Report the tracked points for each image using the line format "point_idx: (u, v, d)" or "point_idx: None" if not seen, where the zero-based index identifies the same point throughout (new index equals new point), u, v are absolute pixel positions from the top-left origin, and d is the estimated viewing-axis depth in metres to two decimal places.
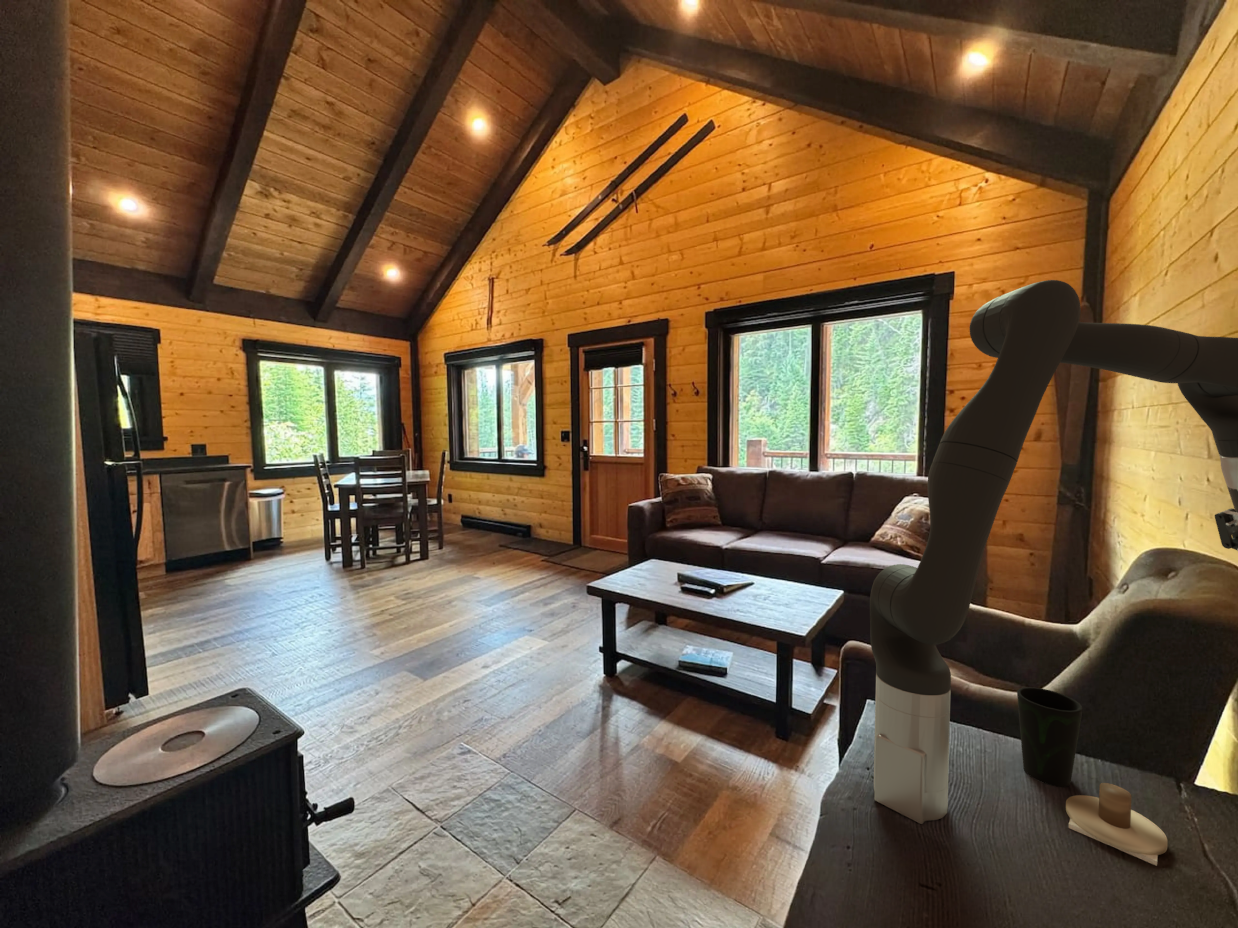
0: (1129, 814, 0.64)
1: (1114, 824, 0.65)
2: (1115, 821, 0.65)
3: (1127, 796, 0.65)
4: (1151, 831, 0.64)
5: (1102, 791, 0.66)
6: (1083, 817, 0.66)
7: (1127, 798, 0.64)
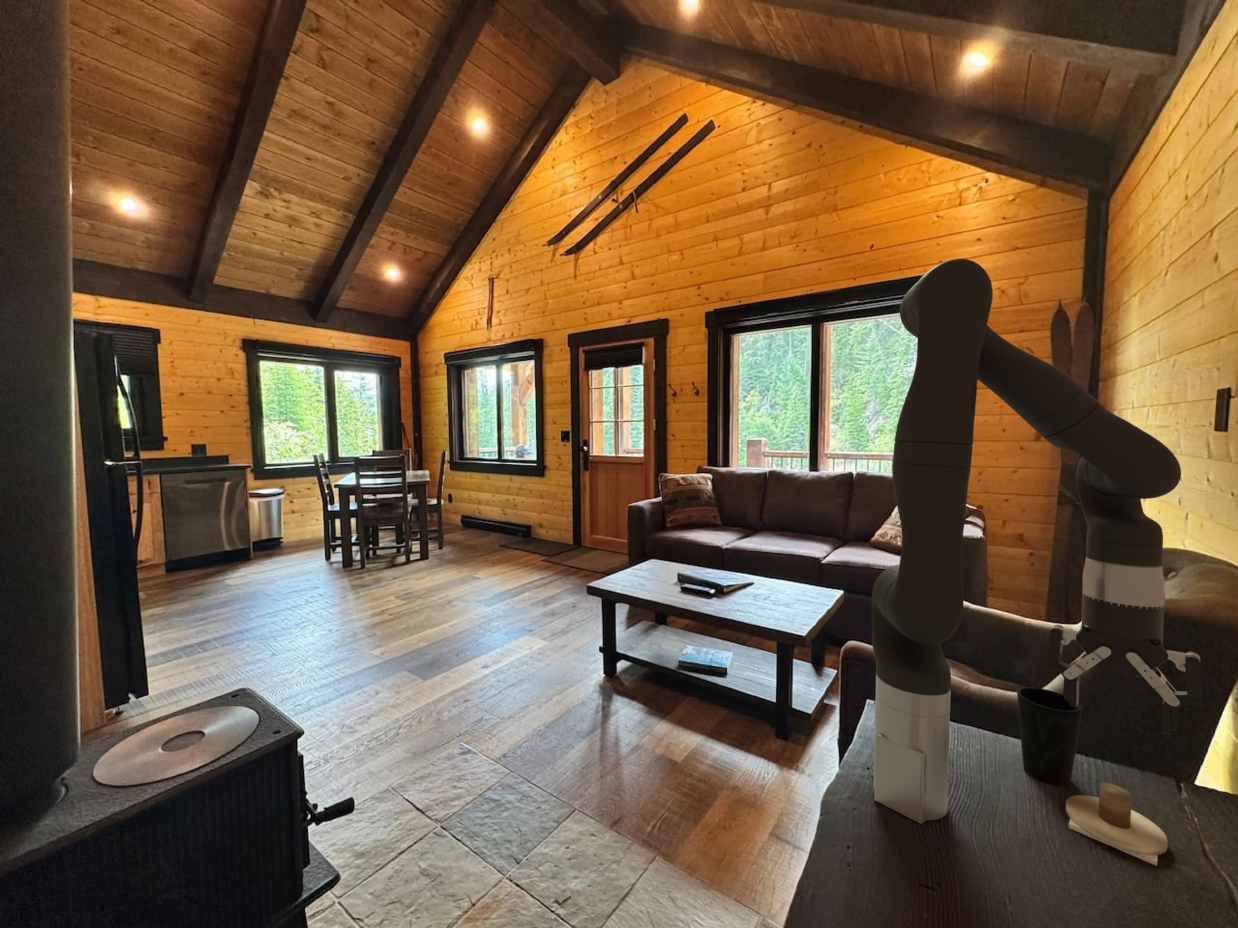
0: (1129, 814, 0.64)
1: (1114, 824, 0.65)
2: (1115, 821, 0.65)
3: (1127, 796, 0.65)
4: (1151, 831, 0.64)
5: (1102, 791, 0.66)
6: (1083, 817, 0.66)
7: (1127, 798, 0.64)
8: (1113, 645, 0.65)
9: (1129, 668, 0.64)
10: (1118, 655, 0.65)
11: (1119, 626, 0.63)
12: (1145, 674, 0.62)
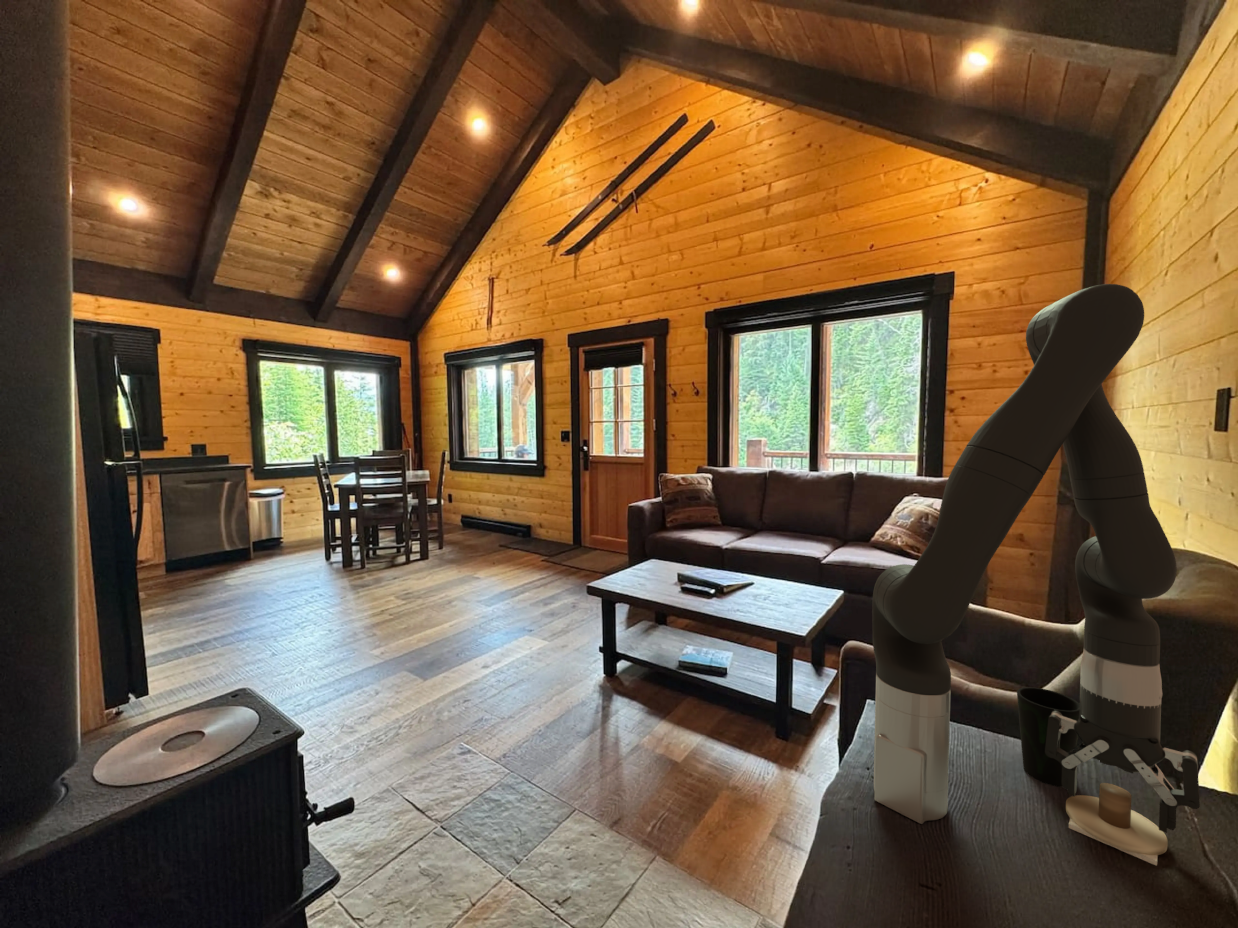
0: (1129, 814, 0.64)
1: (1114, 824, 0.65)
2: (1115, 821, 0.65)
3: (1127, 796, 0.65)
4: (1151, 831, 0.64)
5: (1102, 791, 0.66)
6: (1083, 817, 0.66)
7: (1127, 798, 0.64)
8: (1111, 739, 0.65)
9: (1127, 763, 0.64)
10: (1116, 749, 0.65)
11: (1117, 723, 0.63)
12: (1142, 771, 0.63)
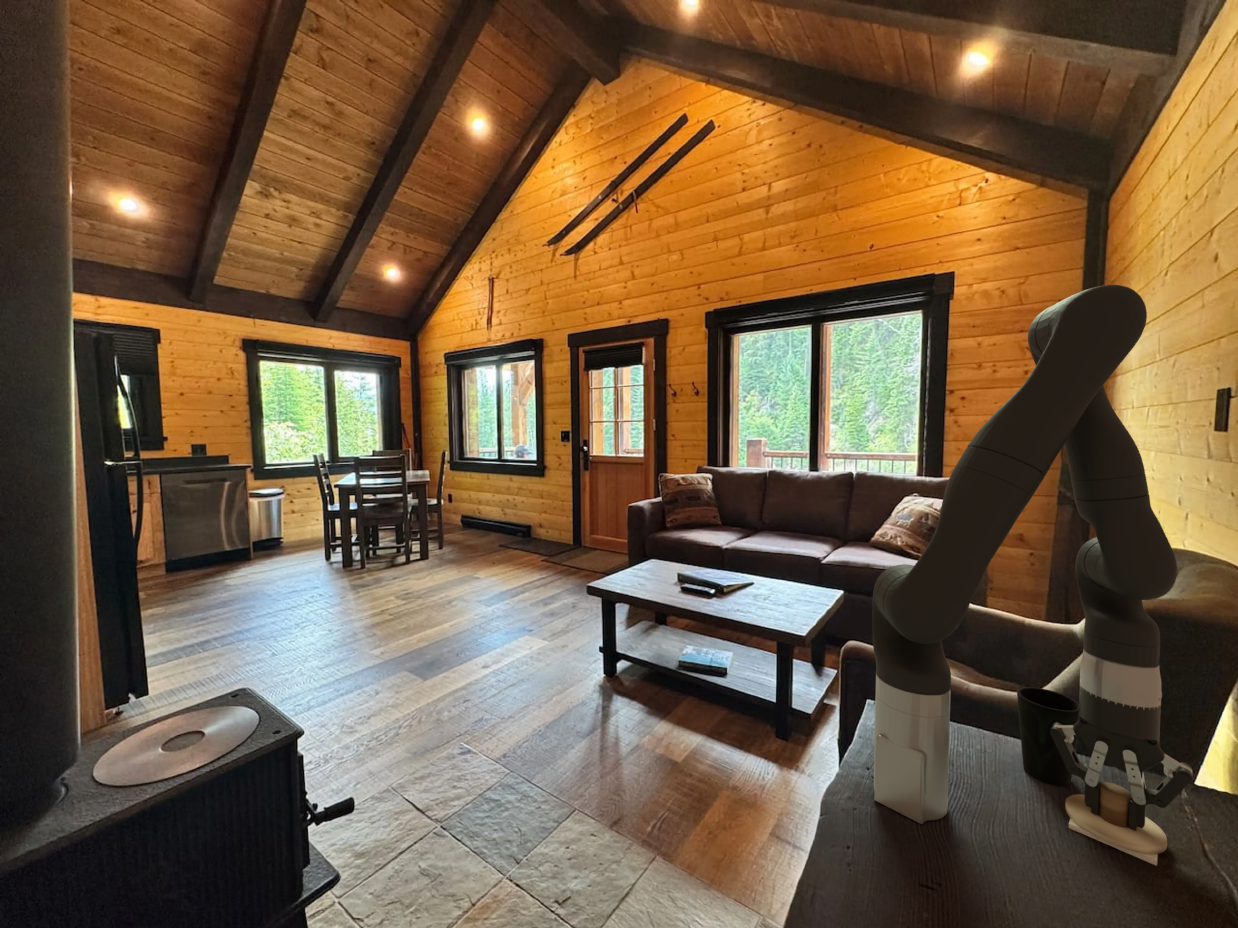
0: None
1: (1114, 823, 0.65)
2: (1115, 820, 0.65)
3: (1126, 795, 0.65)
4: (1151, 830, 0.64)
5: (1102, 790, 0.66)
6: (1082, 816, 0.66)
7: (1127, 797, 0.64)
8: (1105, 736, 0.65)
9: None
10: (1115, 750, 0.65)
11: (1116, 724, 0.63)
12: (1130, 771, 0.63)
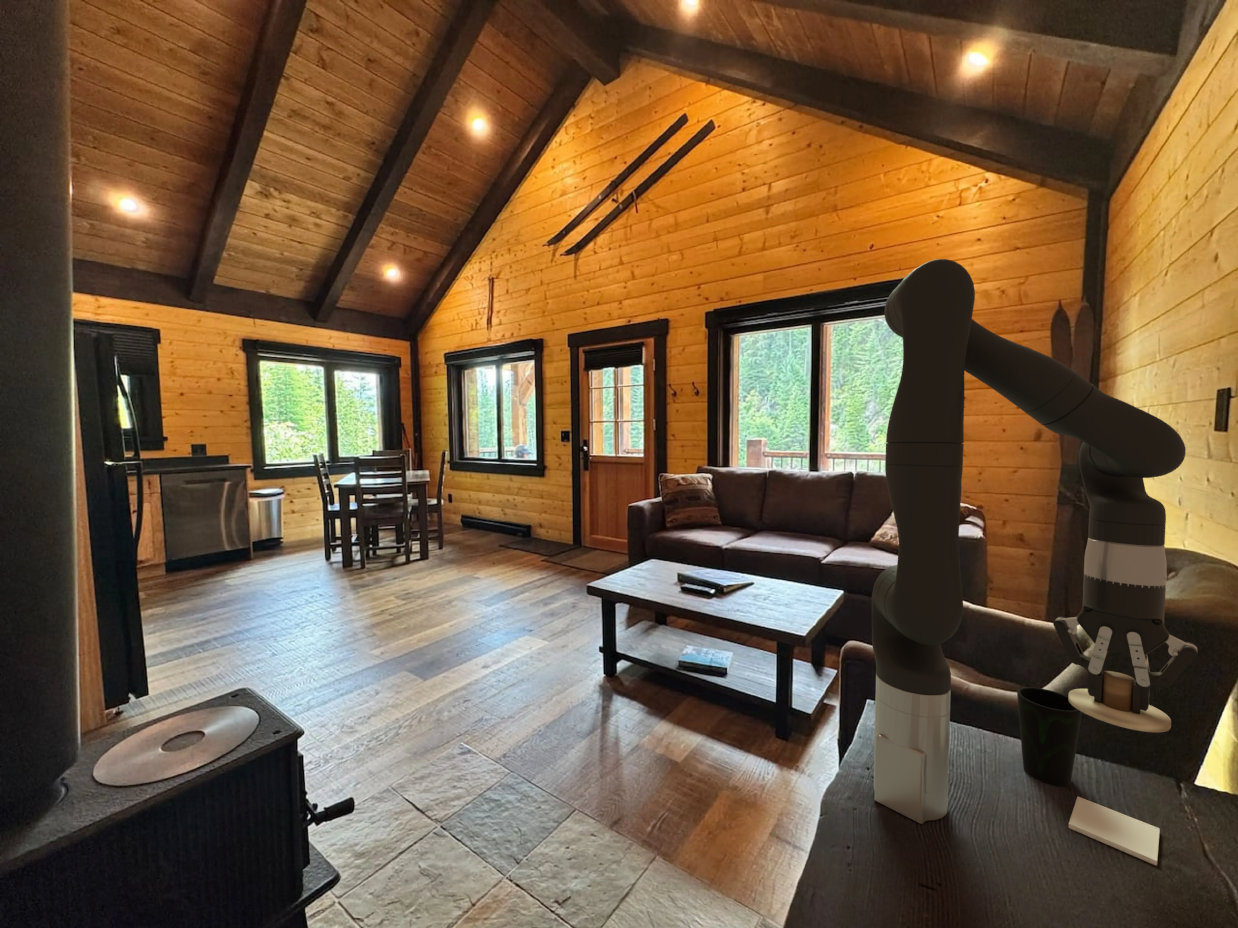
0: (1132, 697, 0.64)
1: (1117, 708, 0.64)
2: (1118, 705, 0.64)
3: (1130, 680, 0.64)
4: (1154, 714, 0.64)
5: (1105, 677, 0.66)
6: (1086, 703, 0.66)
7: (1130, 681, 0.64)
8: (1110, 622, 0.65)
9: (1130, 648, 0.64)
10: (1119, 635, 0.64)
11: (1121, 605, 0.62)
12: (1134, 653, 0.63)
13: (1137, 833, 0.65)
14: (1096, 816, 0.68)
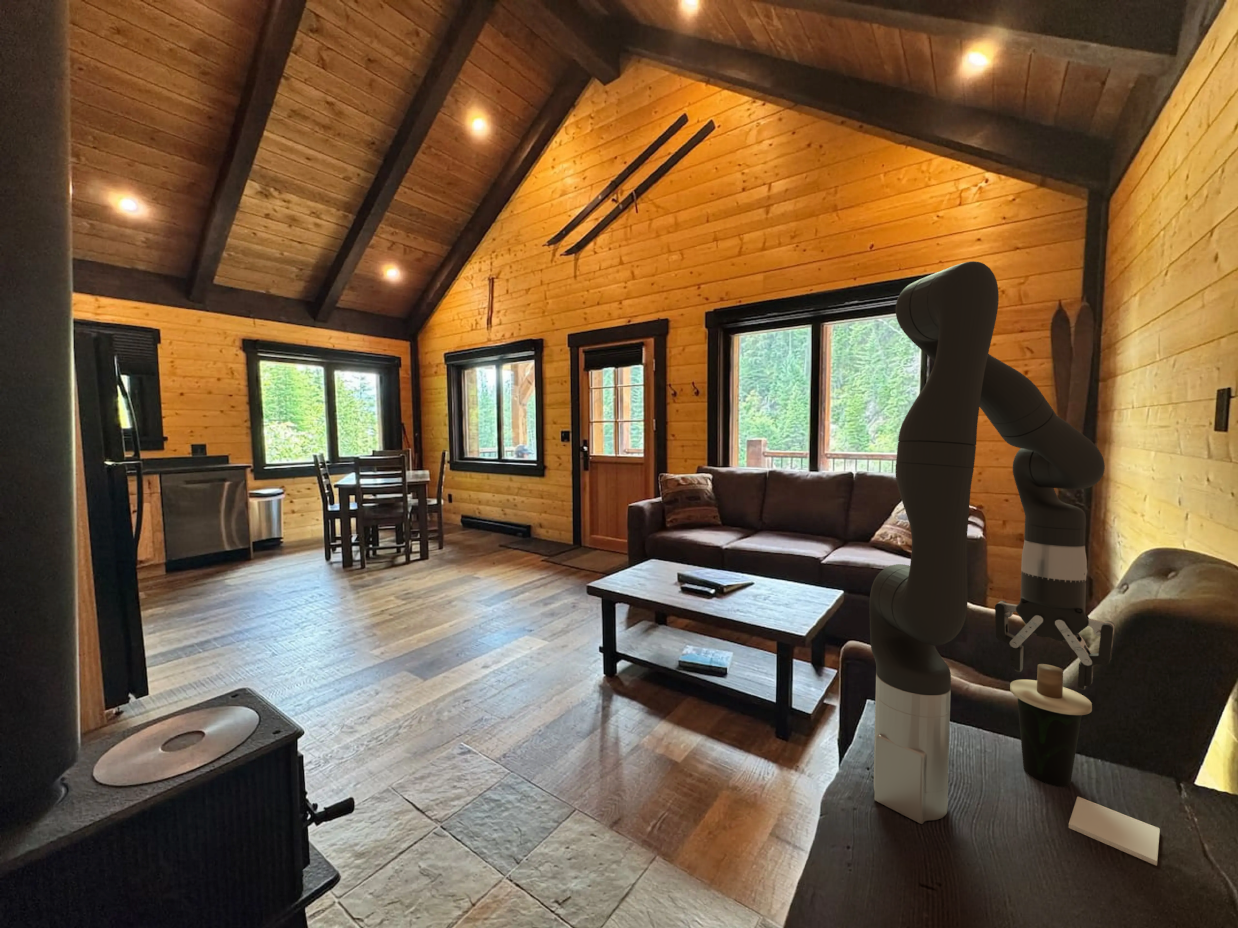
0: (1061, 686, 0.75)
1: (1048, 695, 0.76)
2: (1049, 693, 0.76)
3: (1059, 671, 0.75)
4: (1079, 700, 0.75)
5: (1039, 669, 0.77)
6: (1023, 692, 0.77)
7: (1059, 672, 0.75)
8: (1044, 613, 0.76)
9: (1058, 633, 0.75)
10: (1049, 622, 0.76)
11: (1048, 597, 0.74)
12: (1068, 638, 0.74)
13: (1137, 833, 0.65)
14: (1096, 816, 0.68)
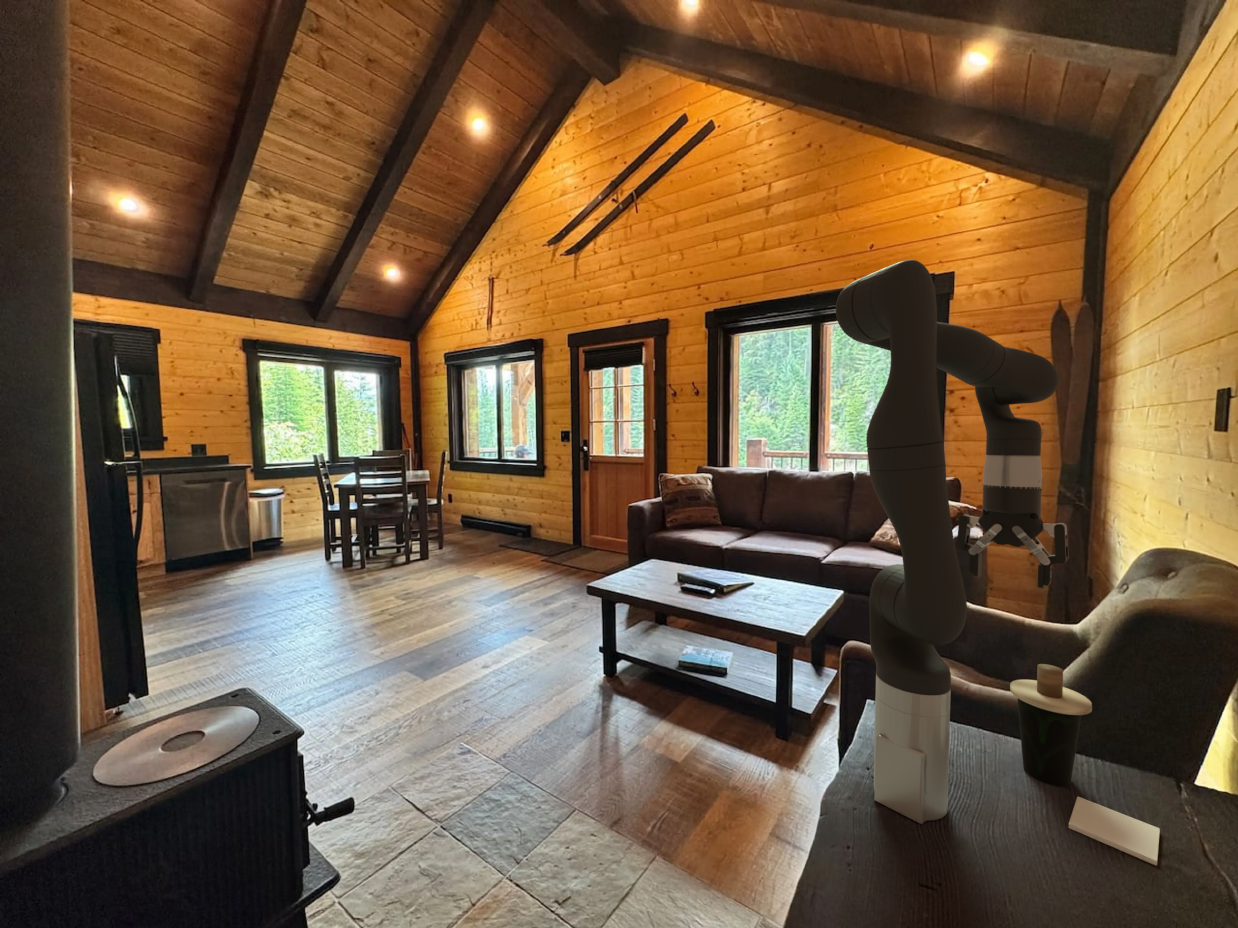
0: (1061, 686, 0.75)
1: (1048, 695, 0.76)
2: (1049, 692, 0.76)
3: (1059, 671, 0.76)
4: (1079, 700, 0.75)
5: (1039, 669, 0.77)
6: (1023, 692, 0.77)
7: (1059, 672, 0.75)
8: (1004, 523, 0.81)
9: (1015, 540, 0.80)
10: (1008, 530, 0.81)
11: (1005, 504, 0.79)
12: (1026, 542, 0.78)
13: (1137, 833, 0.65)
14: (1096, 816, 0.68)
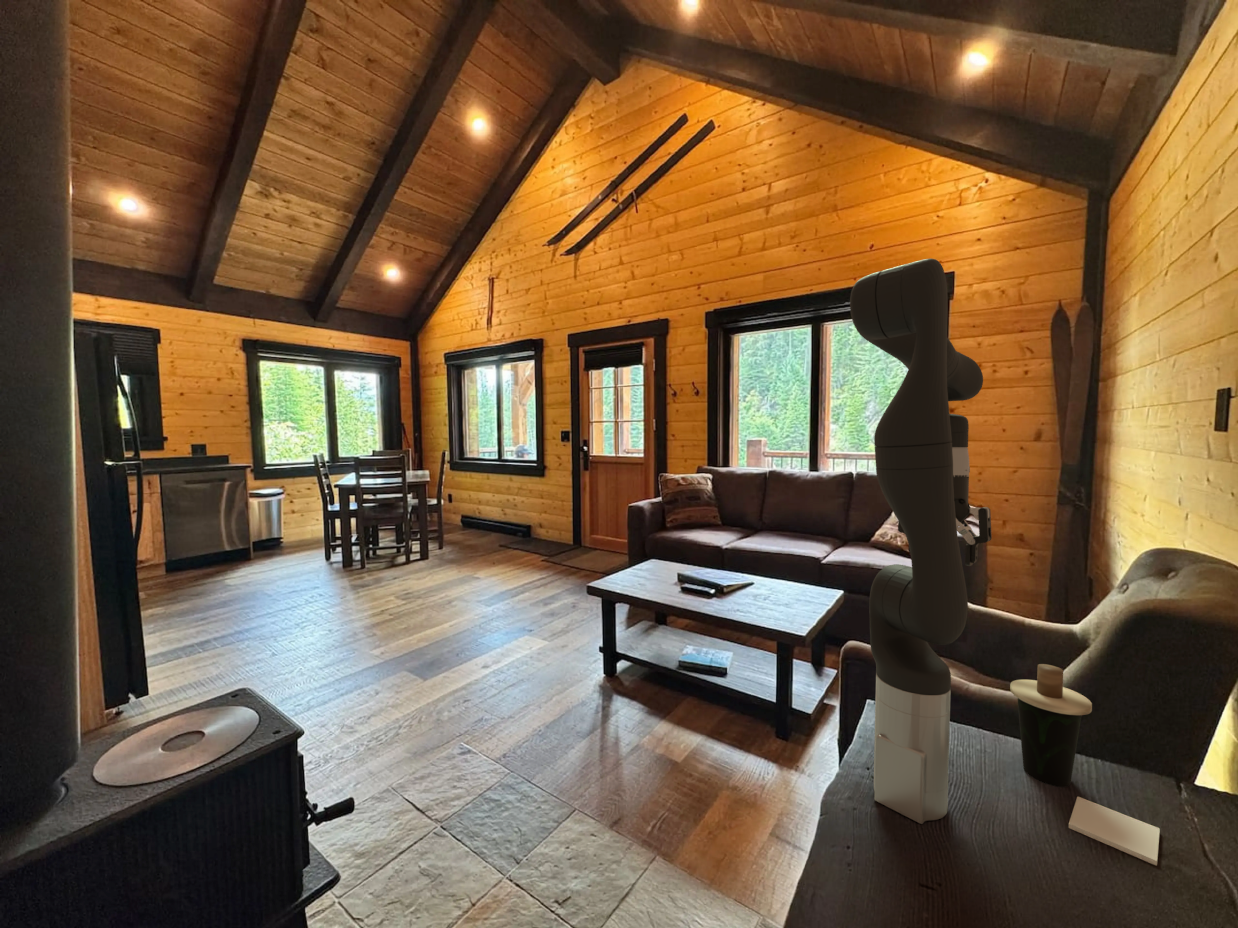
0: (1061, 686, 0.75)
1: (1048, 695, 0.76)
2: (1049, 693, 0.76)
3: (1059, 671, 0.75)
4: (1079, 700, 0.75)
5: (1039, 669, 0.77)
6: (1023, 691, 0.77)
7: (1059, 672, 0.75)
8: None
9: None
10: None
11: None
12: None
13: (1137, 833, 0.65)
14: (1096, 816, 0.68)
